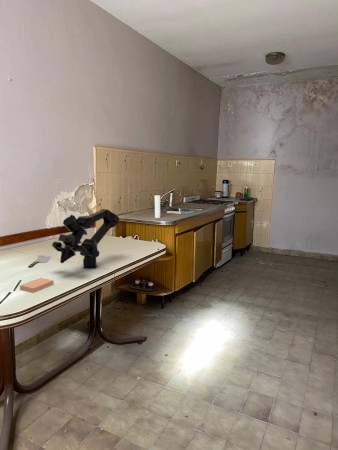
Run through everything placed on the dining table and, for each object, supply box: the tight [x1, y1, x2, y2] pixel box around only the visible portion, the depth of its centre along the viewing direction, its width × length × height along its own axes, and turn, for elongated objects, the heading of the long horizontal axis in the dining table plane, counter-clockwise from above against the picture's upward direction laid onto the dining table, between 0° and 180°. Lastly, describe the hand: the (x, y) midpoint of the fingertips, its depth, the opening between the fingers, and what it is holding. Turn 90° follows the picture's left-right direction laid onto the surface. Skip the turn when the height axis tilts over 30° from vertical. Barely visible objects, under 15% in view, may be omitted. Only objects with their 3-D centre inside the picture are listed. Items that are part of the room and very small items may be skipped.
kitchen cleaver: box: [27, 255, 53, 269], centre depth 189 cm, size 24×1×10 cm
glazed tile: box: [19, 277, 55, 294], centre depth 149 cm, size 2×8×12 cm
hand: (61, 262), depth 161 cm, fingers closed
